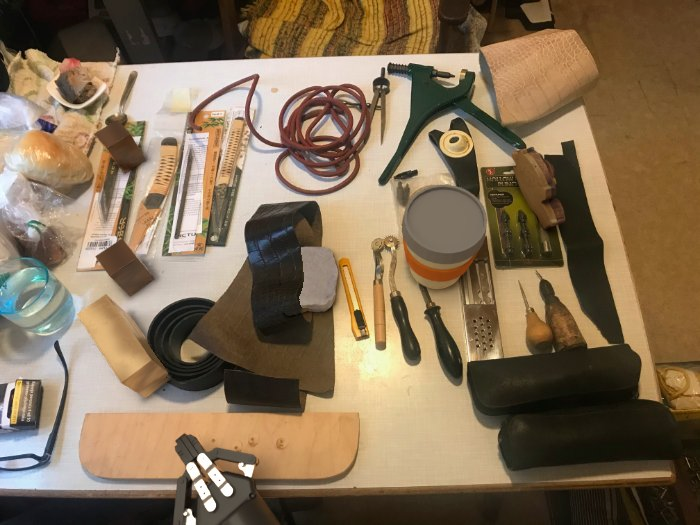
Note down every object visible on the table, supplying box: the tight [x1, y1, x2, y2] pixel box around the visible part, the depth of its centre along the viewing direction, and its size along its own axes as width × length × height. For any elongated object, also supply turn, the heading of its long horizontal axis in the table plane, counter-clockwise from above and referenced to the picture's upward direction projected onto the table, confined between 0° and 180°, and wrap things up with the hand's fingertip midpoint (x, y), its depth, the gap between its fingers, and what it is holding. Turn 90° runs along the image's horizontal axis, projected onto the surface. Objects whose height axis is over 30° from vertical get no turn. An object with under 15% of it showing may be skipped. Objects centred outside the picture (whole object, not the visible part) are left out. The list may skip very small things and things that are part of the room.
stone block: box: [299, 246, 339, 313], centre depth 86 cm, size 12×5×10 cm
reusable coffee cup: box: [401, 184, 488, 290], centre depth 81 cm, size 13×13×15 cm
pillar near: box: [95, 238, 156, 297], centre depth 86 cm, size 5×5×8 cm
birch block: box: [76, 294, 171, 399], centre depth 79 cm, size 5×14×9 cm, turn 41°
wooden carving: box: [511, 146, 566, 230], centre depth 89 cm, size 16×5×10 cm, turn 20°
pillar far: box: [94, 119, 147, 175], centre depth 99 cm, size 5×5×8 cm
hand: (181, 437), depth 69 cm, fingers closed
